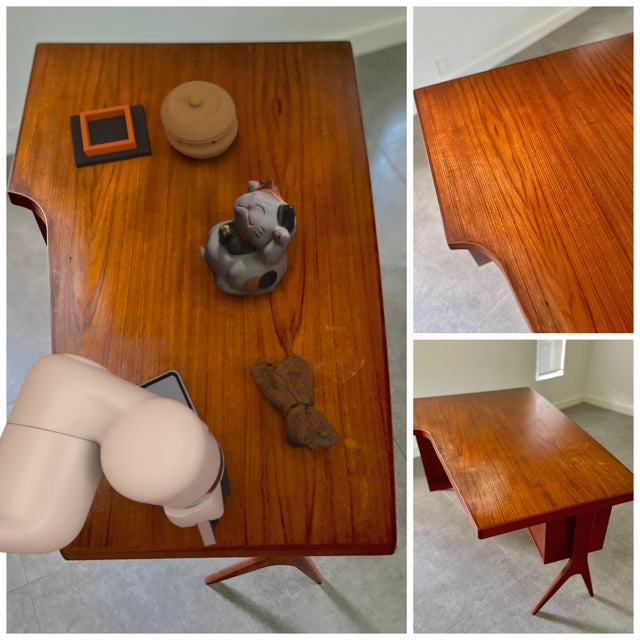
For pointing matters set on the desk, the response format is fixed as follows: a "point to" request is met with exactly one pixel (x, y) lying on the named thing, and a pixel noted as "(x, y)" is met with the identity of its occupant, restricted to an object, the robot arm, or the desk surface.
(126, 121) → the base pad
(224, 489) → the dark grey cube
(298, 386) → the sculpture
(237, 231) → the lucky cat figurine
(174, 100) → the pot
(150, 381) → the smartphone
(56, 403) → the robot arm
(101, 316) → the desk surface
